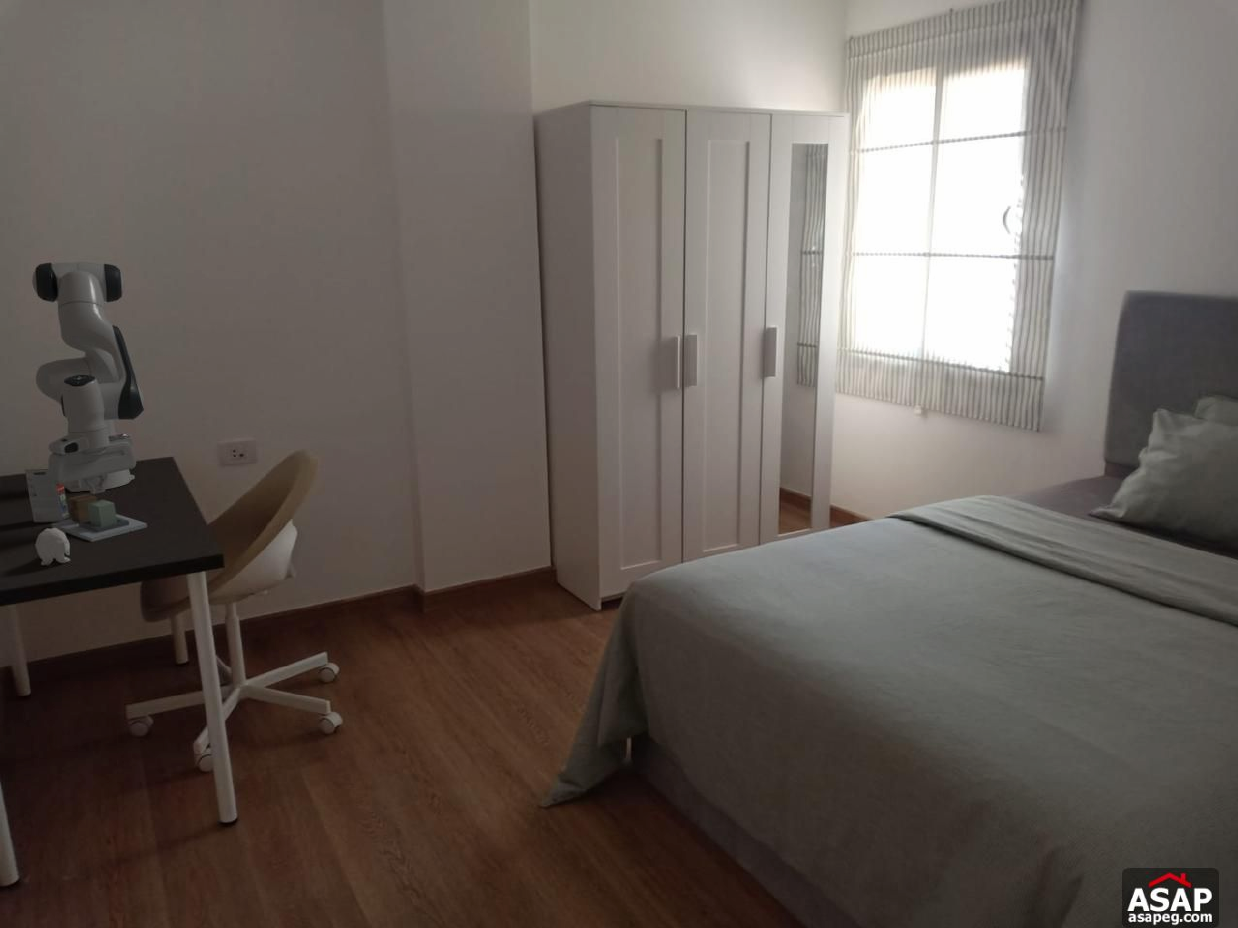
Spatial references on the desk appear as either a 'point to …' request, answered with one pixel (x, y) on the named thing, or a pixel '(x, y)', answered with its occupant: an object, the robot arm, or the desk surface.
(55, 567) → the desk surface
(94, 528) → the board
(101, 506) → the sage block
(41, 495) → the ink box
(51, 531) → the white animal figurine
